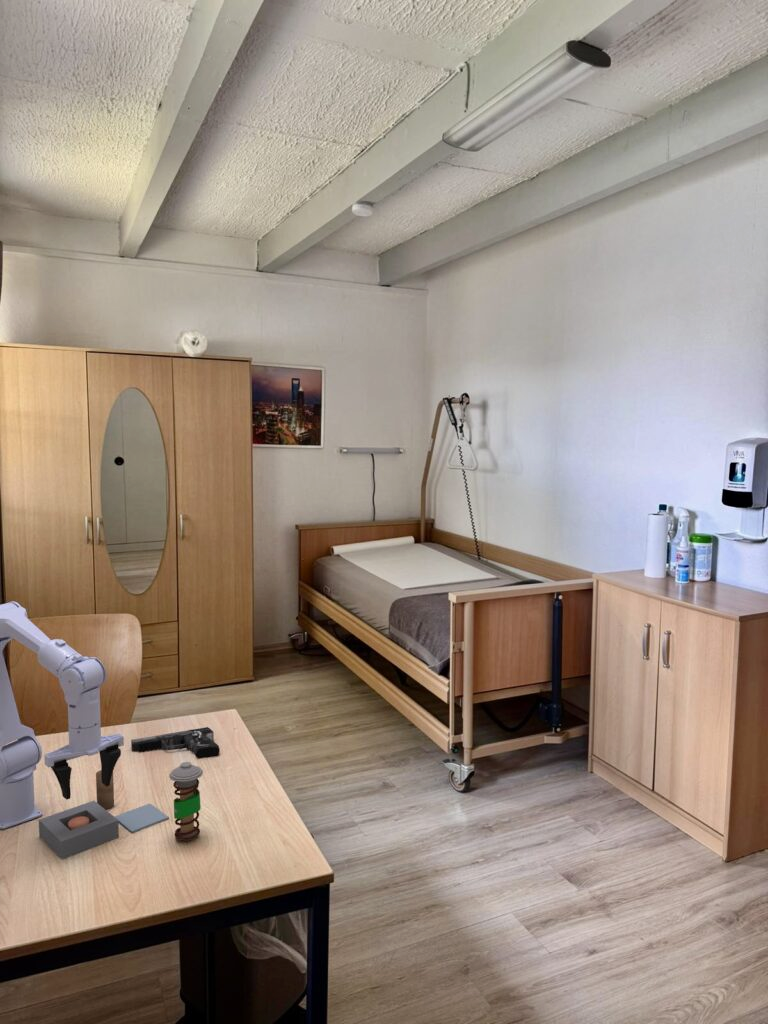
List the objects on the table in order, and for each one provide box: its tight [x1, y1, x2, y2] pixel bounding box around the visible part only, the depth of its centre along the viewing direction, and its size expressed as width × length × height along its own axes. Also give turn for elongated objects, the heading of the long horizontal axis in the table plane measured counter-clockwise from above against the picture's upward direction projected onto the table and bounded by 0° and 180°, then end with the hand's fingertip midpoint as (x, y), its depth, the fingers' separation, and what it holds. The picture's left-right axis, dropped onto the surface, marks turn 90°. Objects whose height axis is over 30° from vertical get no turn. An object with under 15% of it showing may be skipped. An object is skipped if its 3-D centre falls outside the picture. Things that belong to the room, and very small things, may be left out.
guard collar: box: [38, 800, 120, 860], centre depth 144 cm, size 11×11×4 cm
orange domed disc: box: [68, 816, 89, 830], centre depth 144 cm, size 4×4×1 cm
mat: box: [113, 803, 170, 834], centre depth 151 cm, size 8×8×1 cm
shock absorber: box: [168, 761, 204, 842], centre depth 143 cm, size 6×6×15 cm
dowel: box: [95, 769, 115, 811], centre depth 156 cm, size 3×3×8 cm
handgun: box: [130, 726, 221, 760], centre depth 184 cm, size 20×3×14 cm
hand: (86, 790), depth 142 cm, fingers open, 7 cm apart
